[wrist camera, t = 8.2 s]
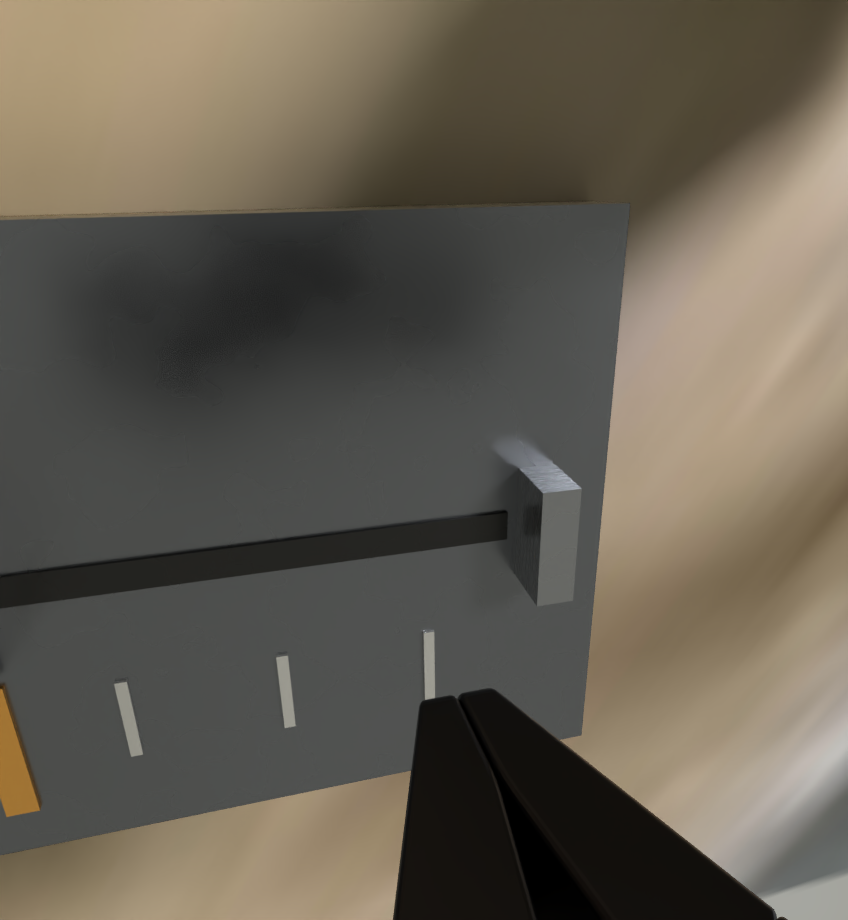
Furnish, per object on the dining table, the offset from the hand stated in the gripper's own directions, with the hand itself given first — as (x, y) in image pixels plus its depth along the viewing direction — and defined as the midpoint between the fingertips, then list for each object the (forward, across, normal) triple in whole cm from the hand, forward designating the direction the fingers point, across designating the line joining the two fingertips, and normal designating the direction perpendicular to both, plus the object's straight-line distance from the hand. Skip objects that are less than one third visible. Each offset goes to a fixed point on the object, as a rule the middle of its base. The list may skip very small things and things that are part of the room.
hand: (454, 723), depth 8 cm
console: (+12, +4, +3) cm, 13 cm away
